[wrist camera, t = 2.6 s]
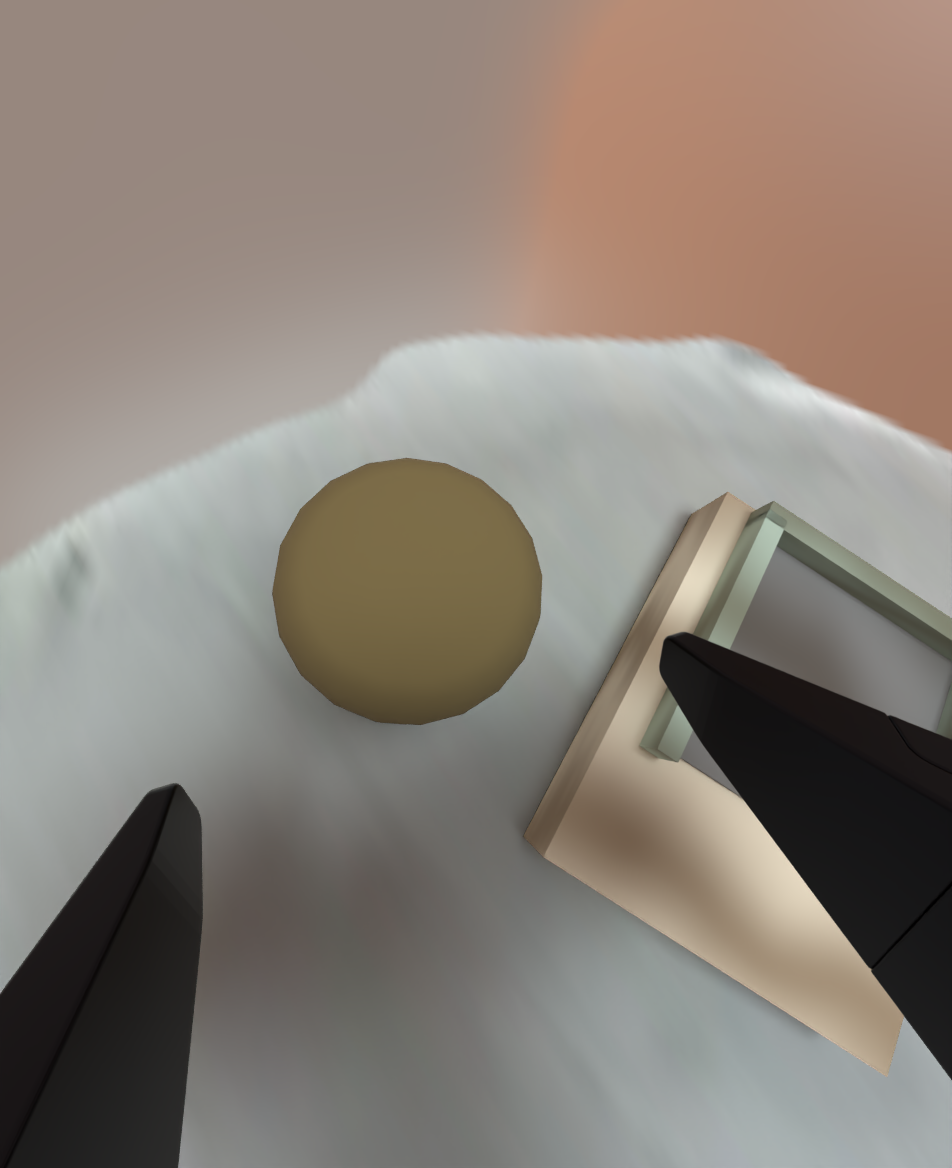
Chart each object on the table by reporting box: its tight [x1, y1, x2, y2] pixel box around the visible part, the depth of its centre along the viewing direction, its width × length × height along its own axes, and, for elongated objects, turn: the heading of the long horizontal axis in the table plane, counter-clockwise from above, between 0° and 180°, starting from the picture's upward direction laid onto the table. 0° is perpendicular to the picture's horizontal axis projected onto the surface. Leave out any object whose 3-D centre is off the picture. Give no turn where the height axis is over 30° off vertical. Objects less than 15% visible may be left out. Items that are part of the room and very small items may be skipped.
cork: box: [272, 458, 542, 725], centre depth 14 cm, size 6×6×11 cm
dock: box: [523, 492, 952, 1077], centre depth 19 cm, size 15×13×4 cm
